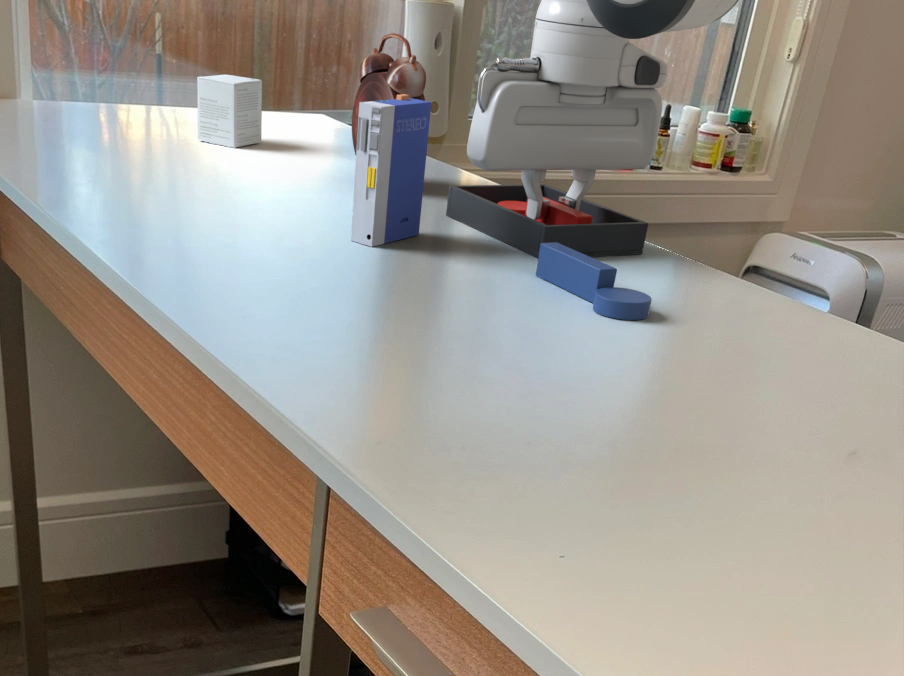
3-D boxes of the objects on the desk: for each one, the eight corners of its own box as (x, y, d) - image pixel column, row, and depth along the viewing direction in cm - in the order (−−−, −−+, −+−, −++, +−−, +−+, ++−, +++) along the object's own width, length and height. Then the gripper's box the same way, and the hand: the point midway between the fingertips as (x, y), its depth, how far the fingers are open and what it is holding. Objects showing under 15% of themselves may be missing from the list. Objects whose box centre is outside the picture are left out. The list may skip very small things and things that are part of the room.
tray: (642, 254, 110) (648, 223, 109) (540, 259, 106) (545, 226, 104) (540, 212, 123) (545, 184, 122) (445, 215, 119) (449, 185, 117)
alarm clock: (425, 193, 127) (440, 40, 119) (388, 194, 125) (401, 38, 116) (379, 173, 135) (390, 29, 126) (344, 174, 133) (352, 27, 124)
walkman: (396, 229, 111) (407, 93, 104) (419, 235, 110) (432, 97, 103) (348, 240, 106) (356, 97, 99) (371, 246, 105) (381, 102, 98)
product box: (225, 136, 148) (225, 73, 144) (262, 143, 146) (263, 79, 142) (196, 141, 144) (195, 76, 140) (234, 148, 142) (235, 82, 137)
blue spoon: (522, 276, 100) (527, 243, 98) (564, 273, 102) (569, 241, 100) (614, 322, 90) (621, 286, 89) (659, 318, 92) (667, 283, 90)
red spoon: (598, 246, 110) (604, 215, 109) (560, 247, 108) (565, 216, 107) (523, 214, 120) (528, 185, 118) (487, 215, 118) (491, 186, 117)
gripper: (501, 60, 98) (480, 228, 106) (682, 67, 106) (649, 222, 114) (465, 51, 102) (447, 212, 110) (641, 58, 111) (613, 208, 119)
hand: (551, 217), depth 112 cm, fingers closed
